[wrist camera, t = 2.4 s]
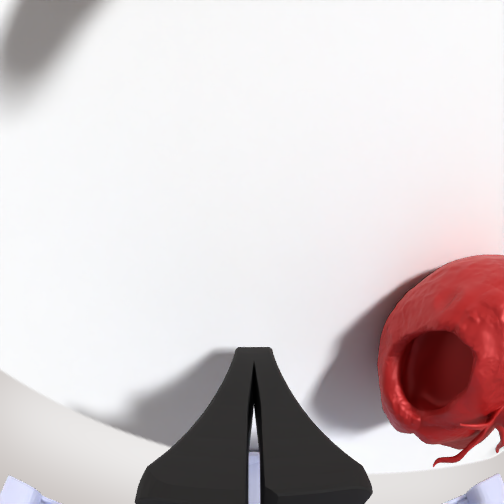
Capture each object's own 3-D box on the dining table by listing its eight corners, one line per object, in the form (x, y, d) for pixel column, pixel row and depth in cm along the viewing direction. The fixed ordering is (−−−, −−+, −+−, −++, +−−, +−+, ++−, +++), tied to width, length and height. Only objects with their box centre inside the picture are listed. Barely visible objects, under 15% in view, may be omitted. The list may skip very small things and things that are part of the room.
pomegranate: (504, 206, 12) (638, 284, 3) (495, 344, 16) (566, 434, 7) (341, 273, 13) (441, 459, 4) (370, 405, 17) (413, 532, 8)
